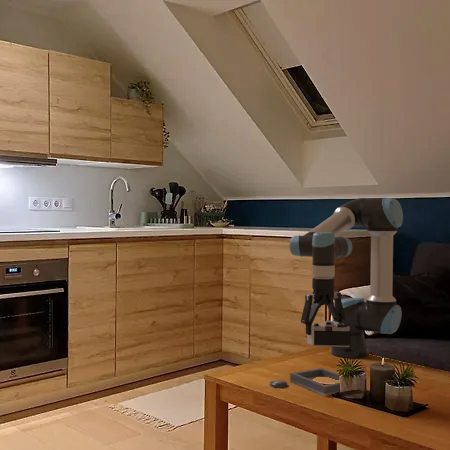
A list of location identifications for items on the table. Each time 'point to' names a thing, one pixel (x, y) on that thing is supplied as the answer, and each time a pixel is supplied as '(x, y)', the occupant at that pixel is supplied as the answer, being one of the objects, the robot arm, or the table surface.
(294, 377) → the case tray
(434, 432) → the table surface
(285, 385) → the lens cap
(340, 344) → the camera
